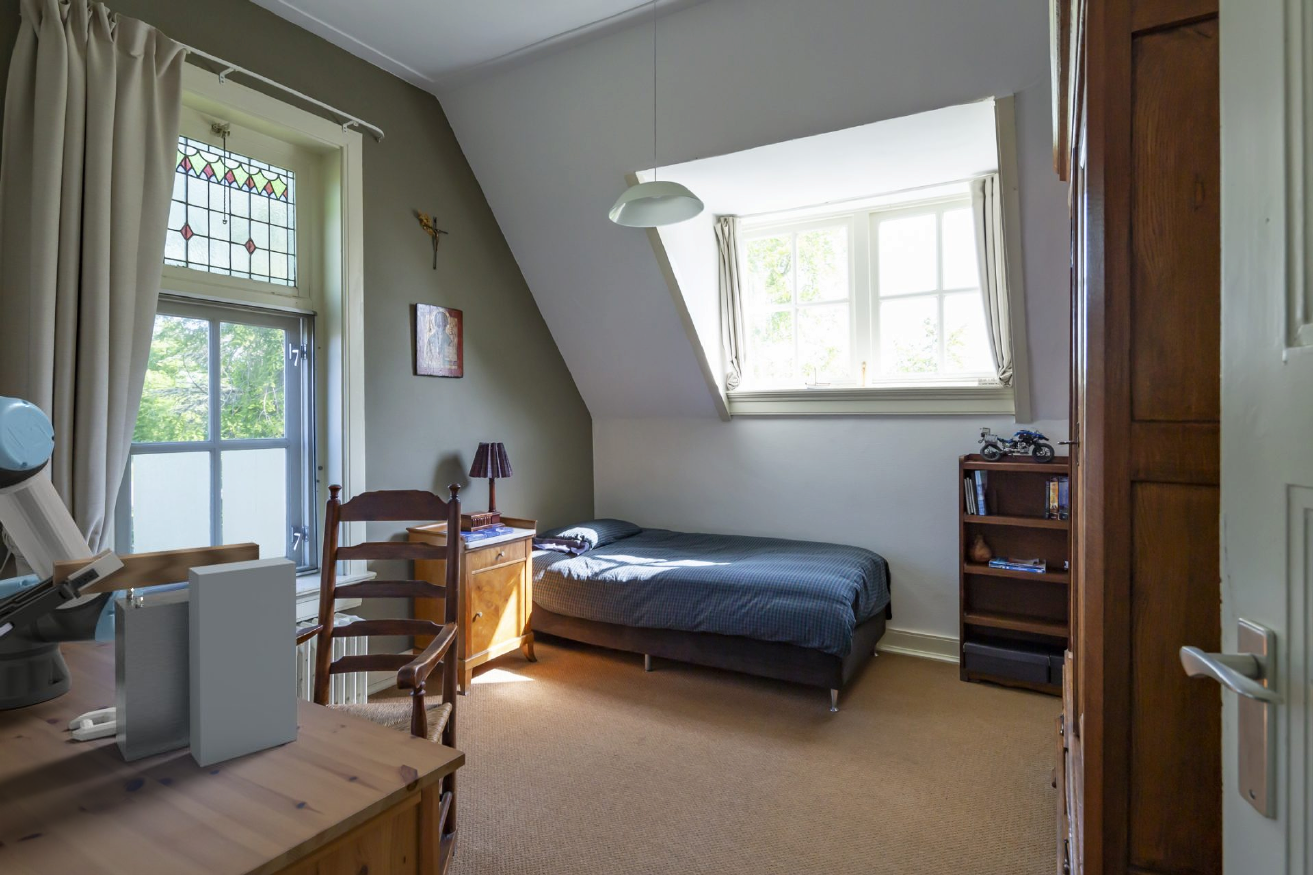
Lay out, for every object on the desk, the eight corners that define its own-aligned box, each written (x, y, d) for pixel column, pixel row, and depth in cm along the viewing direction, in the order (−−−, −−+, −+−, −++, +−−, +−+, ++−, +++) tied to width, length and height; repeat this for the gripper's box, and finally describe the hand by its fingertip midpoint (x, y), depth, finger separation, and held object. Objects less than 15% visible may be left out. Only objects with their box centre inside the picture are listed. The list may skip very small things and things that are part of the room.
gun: (193, 685, 136) (192, 704, 127) (194, 703, 136) (193, 723, 128) (70, 710, 126) (60, 732, 118) (72, 729, 127) (62, 753, 118)
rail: (55, 598, 109) (55, 565, 108) (52, 593, 111) (52, 561, 111) (259, 572, 128) (259, 544, 128) (252, 569, 131) (252, 542, 131)
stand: (190, 752, 116) (188, 567, 115) (283, 726, 126) (282, 556, 125) (200, 767, 111) (199, 574, 110) (297, 739, 121) (296, 562, 120)
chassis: (116, 741, 120) (114, 589, 119) (224, 714, 131) (223, 575, 130) (126, 762, 113) (124, 600, 112) (240, 731, 124) (239, 584, 123)
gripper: (-43, 661, 109) (122, 567, 123) (-43, 691, 97) (140, 583, 111) (-79, 623, 106) (94, 531, 120) (-83, 649, 94) (109, 543, 108)
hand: (116, 556), depth 115 cm, fingers closed on rail, 4 cm apart
